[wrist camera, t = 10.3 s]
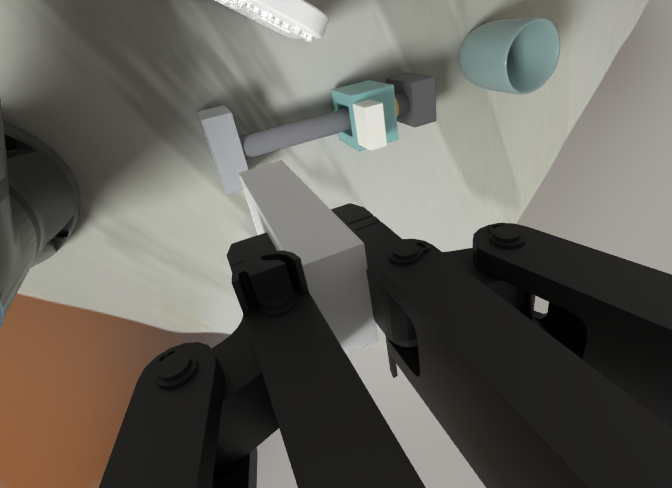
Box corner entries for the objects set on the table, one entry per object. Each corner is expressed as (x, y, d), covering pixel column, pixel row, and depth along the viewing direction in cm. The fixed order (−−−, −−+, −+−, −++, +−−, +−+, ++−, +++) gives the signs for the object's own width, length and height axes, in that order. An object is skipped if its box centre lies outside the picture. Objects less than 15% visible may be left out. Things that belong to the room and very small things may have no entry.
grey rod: (233, 159, 44) (237, 165, 42) (226, 136, 43) (229, 141, 41) (399, 112, 49) (410, 116, 47) (398, 90, 48) (409, 93, 46)
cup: (504, 65, 55) (565, 70, 47) (459, 97, 54) (513, 108, 46) (490, 7, 51) (555, 2, 42) (442, 41, 50) (497, 42, 42)
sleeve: (339, 139, 50) (371, 158, 42) (330, 89, 46) (363, 99, 39) (375, 129, 51) (412, 145, 43) (369, 79, 48) (408, 87, 40)
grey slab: (220, 179, 47) (226, 194, 43) (196, 111, 43) (201, 120, 39) (244, 172, 48) (253, 186, 44) (224, 104, 44) (231, 112, 39)
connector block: (390, 118, 52) (414, 127, 47) (386, 78, 49) (411, 82, 44) (410, 113, 53) (436, 121, 48) (407, 72, 50) (434, 76, 45)
